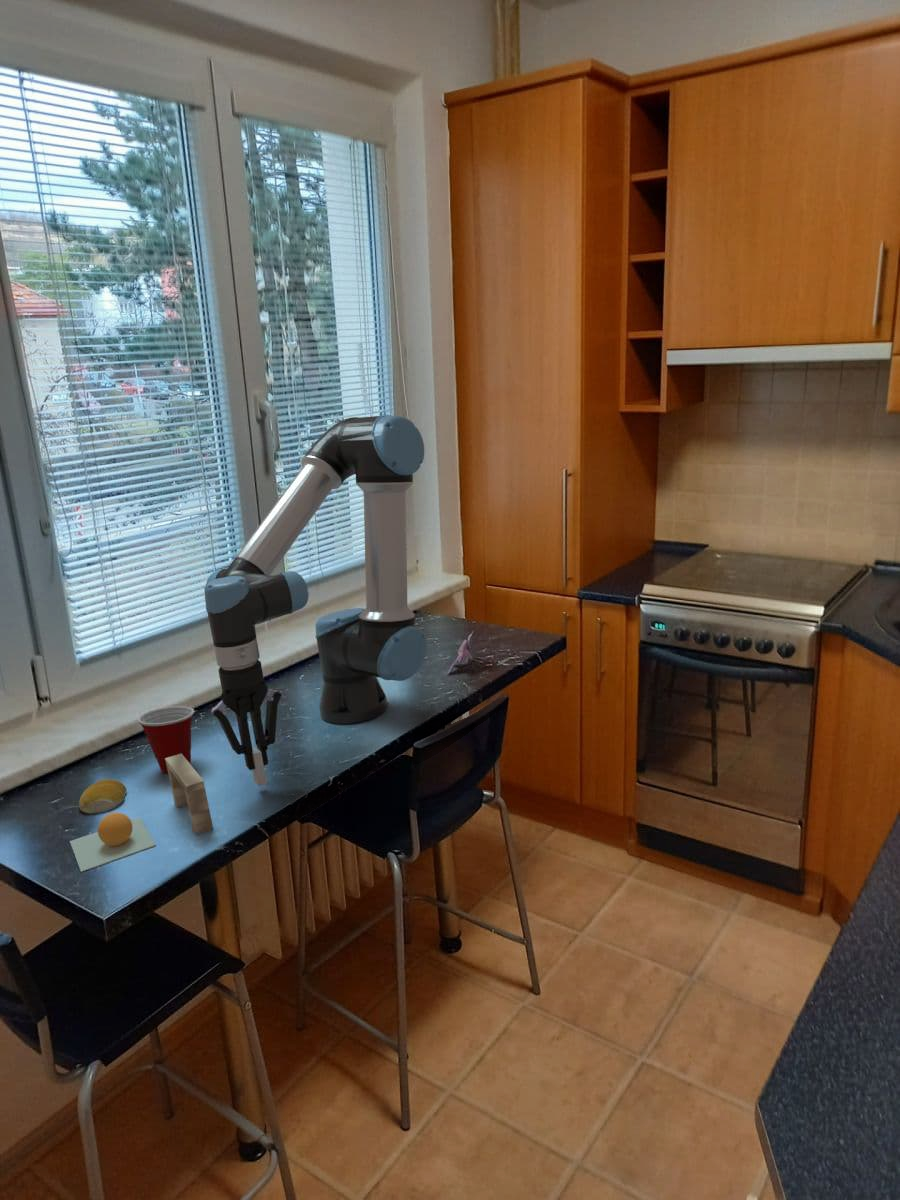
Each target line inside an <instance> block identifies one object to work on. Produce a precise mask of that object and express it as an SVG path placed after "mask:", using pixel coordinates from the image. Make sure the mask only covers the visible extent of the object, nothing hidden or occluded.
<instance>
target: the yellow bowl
mask: <svg viewBox="0 0 900 1200" xmlns="http://www.w3.org/2000/svg"><path fill="white" fill-rule="evenodd" d="M126 794H127V787H126V786H125V784H123V783H122V782H121V781H119V780H117V779H111V778H109V779H101V780H98V781H96V782H94V783H93V784H91V785H89V786H88V787H87V788H86V789H85V790H84V791H83V792H82V794H81V795H80V799H79V802H78V809H80V811H82V812H83V813H84V814H89V815H90V814H92V815H93V814H98V813H104V812H107V811H108V812H109V811H111V810H113V809H115V808H117V807H118V806H120V805H121V804H123V801H124V799H125V797H126Z"/></svg>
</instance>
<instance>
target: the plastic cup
mask: <svg viewBox="0 0 900 1200" xmlns="http://www.w3.org/2000/svg"><path fill="white" fill-rule="evenodd" d="M194 714H195V709H194V708H193V707H189V706H185V705H184V706H183V705H177V706H176V705H175V706H165V707H161V708H160V707H159V708H155V709H153V710H152V709H151V710H149V711H147V712H144V713H142V714H141V715H140V716H138V718H137V720H138V724H140V725H141V726H142V729H143V731H144V734H145V735H146V738H147V740H148V742H149V746H150V748H151V750H152V753H153V755H154V757H155V759H156V761H157V763H158V766H159V768H160V770H161V771H162V773H163V774H166V775H168V770H167V765H166V760H165V758H168V757H171V756H175V755H178V754H181V753H182V755H183V756H184V757H185V758H186V760H187V761H188V762H189V763H190V765H191V766H192V764H191V763H192V756H191V755H192V753H191V752H192V720H193V715H194Z"/></svg>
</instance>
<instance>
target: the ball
mask: <svg viewBox="0 0 900 1200" xmlns="http://www.w3.org/2000/svg"><path fill="white" fill-rule="evenodd" d="M131 820H132V819H130V817H129V816H128V815H126V814H125V813H121V812H112V813H109V814H107V815H106V816H104V817H103V818H102V819H101V820H100V822H99V824H98V828H97V832H98V835H99V838H100V839H101V841H102V842H103V843H105V844H107V845H109V846H118V845H121V844H123V843H125V842H126V841H127V840H128V839H129V837H130V836H131V833H132V822H131Z"/></svg>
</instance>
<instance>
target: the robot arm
mask: <svg viewBox="0 0 900 1200" xmlns="http://www.w3.org/2000/svg"><path fill="white" fill-rule="evenodd" d="M424 460H425V443H424V440H423V436H422V433H421V432H420V430H419V428H418V427H416V425H415V424H414V422H412V421H411V420H410V419H408V418H407V417H405V416H401V415H389V414H383V415H374V416H373V415H372V416H361V417H358V416H356V417H355V416H354V417H353V416H352V417H348V418H345V419H342V420H340V421H338V422H337V423H335V424H333V425H331V427H330V428H328V429H327V430H326V431H325V432H324V433H322V435H321V436H320V437H319V438H318V439H317V440H316V441H315V442H314V443H313V444H312V446H311V447H310V448H309V449H308V451H307V452H306V454H305V455H304V456H303V457H302V459H301V461H300V462H301V463H300V464H301V469H300V470H299V471H298V473H297V474H296V475H295V476H294V478H293V479H292V481H291V482H290V484H289V485H288V486H287V487H286V488H285V490H284V492H283V493H282V494H281V495H280V497H279V498H278V499H277V501H276V502H275V504H274V505H273V506H272V508H270V510H269V512H268V513H267V514H266V515H265V517H264V518H263V520H262V521H261V522H260V524H259V525H258V526H257V527H256V529H255V531H254V532H253V534H252V535H251V536H250V537H249V539H248V540H247V542H245V544H244V545H243V547H242V548H241V550H240V551H239V553H237V554H236V556H235V558H233V560H232V561H231V563H230V564H229V565H228V566H227V568H221V569H217V570H215V571H214V572H212V573H211V574H210V575H209V576H208V578H207V580H206V583H205V586H204V599H205V610H206V613H207V616H208V622H209V628H210V631H211V637H212V638H211V639H212V642H213V649H214V653H215V661H216V665H217V666H218V667H219V668H218V677H219V680H220V685H221V694H220V701H219V702H218V703H217V705H215V706H214V705H213V706H211V707H210V709H209V711H210V713H211V714H213V716H214V717H215V718H217V720H218V722H219V724H220V726H221V729H222V730H223V733H224V734H225V736H226V738H227V741H228V743H229V745H230V747H231V749H232V750H233V751H234V752H235V754H237V755H243V756H244V761H245V766H246V768H247V769H248V770H249V771H252V775H253V776H252V777H253V781H254V782H255V784H256V785H257V786H258V787H262V786H265V785H268V782H267V776H266V772H265V771H266V770H265V766H267V765H269V759H268V752H267V751H268V750H269V749H268V747H269V746H270V745H273V744H275V742H276V731H277V730H276V729H277V719H278V705H279V702H280V700H281V697H282V692H280V691H278V690H277V689H276V688H273V689H272V688H269V686H268V685H267V684H266V683H265V680H264V672H263V667H262V662H261V661H260V660H259V659H260V658H261V657H260V656H261V655H260V651H259V650H260V649H259V644H258V641H257V640H258V639H257V634H256V633H257V632H256V631H257V630H256V625H260V624H263V623H266V622H269V621H271V620H273V619H275V620H276V619H277V618H281V617H283V616H286V615H287V616H288V615H291V614H293V613H295V612H297V611H300V610H301V609H304V607H305V606H307V603H308V601H309V597H310V595H309V591H308V588H309V587H308V584H307V582H306V580H305V579H304V577H303V576H302V575H301V574H299V572H296V571H292V570H291V571H286V572H279V573H277V574H275V575H272V573H273V572H274V571H275V570H276V568H277V567H278V565H279V564H280V563H281V561H282V559H283V558H284V557H285V555H286V554H287V552H289V550H290V549H291V547H292V546H293V545H294V543H295V542H296V540H297V538H298V537H299V536H300V535H301V533H302V532H303V531H304V529H305V528H306V527H307V525H308V524H309V522H310V520H311V519H312V518H313V516H314V515H316V513H317V511H318V510H319V509H320V506H321V505H322V504H323V503H324V501H325V500H326V499H327V497H328V496H329V495H330V493H331V492H332V490H337V489H339V488H340V487H341V486H342V485H343V484H344V482H345V481H347V479H348V478H350V477H352V476H354V475H355V485H357V487H359V489H361V490H362V493H363V520H364V521H363V522H364V523H363V524H364V525H363V526H364V527H363V528H364V530H363V531H364V562H365V563H364V565H365V566H364V567H365V570H364V571H365V601H366V602H365V608H363V607H362V608H361V607H354V608H347V609H342V610H338V611H335V612H331V613H328V614H325V615H323V616H321V617H320V618H318V619H317V621H316V622H315V639H316V644H317V649H318V656H319V663H320V667H321V668H320V669H321V673H322V680H323V685H322V690H321V695H320V701H319V714H320V718H321V719H322V720H323V721H325V722H327V723H331V724H335V725H337V724H338V725H348V724H349V725H350V724H356V723H357V724H358V723H362V722H366V721H369V720H372V719H375V718H377V717H378V716H380V715H382V714H383V713H385V712H386V710H387V709H388V700H387V696H386V693H385V691H384V688H383V687H382V685H381V683H380V680H379V679H378V678H381V679H382V680H385V681H395V682H402V681H406V680H409V679H411V678H412V677H413V676H414V675H416V674H417V673H418V671H419V670H420V668H421V667H422V665H423V663H424V661H425V658H426V656H427V651H428V650H427V649H428V642H427V637H426V635H425V634H424V633H423V630H421V629H419V628H418V627H417V626H416V614H415V613H414V612H413V611H412V610H411V609H410V607H409V606H408V566H407V565H408V563H407V562H408V561H407V559H408V558H407V557H408V555H407V554H408V553H407V551H408V549H407V504H406V503H407V502H406V499H407V497H406V495H407V493H406V492H407V490H408V489H409V488H410V487H411V486H412V485H413V484H414V480H413V479H414V477H413V476H414V473H416V472H417V471H418V470H419V469H421V464H423V461H424ZM265 699H266V709H265V720H264V721H265V723H264V724H263V720H262V710H261V707H262V705H263V702H264V701H265ZM226 707H227V708H228V709H230V710H231V711H232V712H233V713H234V714H235V717H236V720H237V727H238V733H239V738H240V741H239V739H238V737H237V735H236V733H235V730H234V729H233V727H232V725H231V722H230V721H229V718H228V717H227V716H226V715H227V709H226ZM248 713H249V714H250V719H251V724H252V730H253V736H254V742H255V746H256V747H253V743H252V739H251V738H252V737H251V733H250V727H249V721H248V718H249V717H248ZM240 742H241V743H240Z"/></svg>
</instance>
